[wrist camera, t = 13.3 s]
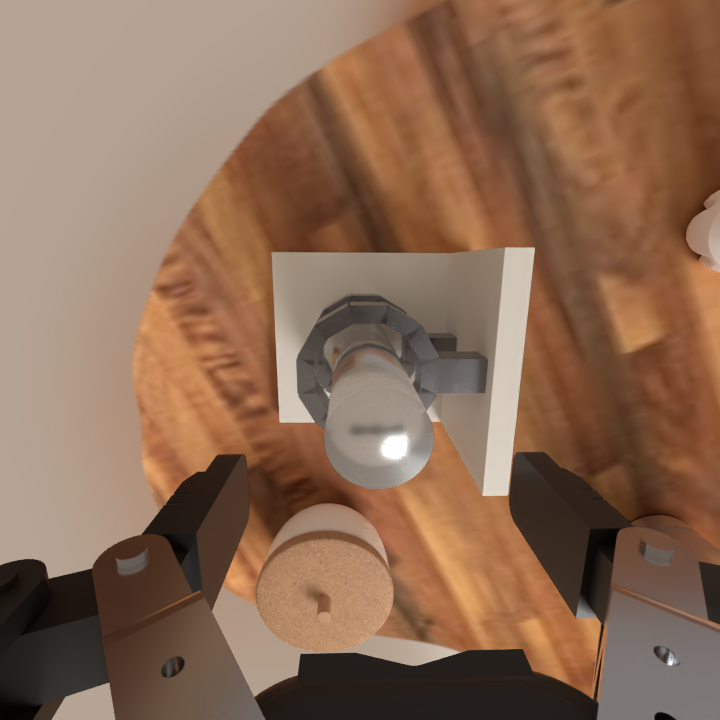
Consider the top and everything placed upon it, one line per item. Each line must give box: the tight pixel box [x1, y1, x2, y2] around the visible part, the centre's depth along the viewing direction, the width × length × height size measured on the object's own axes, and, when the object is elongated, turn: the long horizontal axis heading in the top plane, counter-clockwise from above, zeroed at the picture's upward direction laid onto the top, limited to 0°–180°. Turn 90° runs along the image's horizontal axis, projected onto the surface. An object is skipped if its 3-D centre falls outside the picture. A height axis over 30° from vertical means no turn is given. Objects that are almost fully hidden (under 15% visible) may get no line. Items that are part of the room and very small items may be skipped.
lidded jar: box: [256, 503, 394, 652], centre depth 33 cm, size 11×11×9 cm
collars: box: [296, 294, 488, 429], centre depth 26 cm, size 8×11×8 cm
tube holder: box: [272, 248, 535, 496], centre depth 27 cm, size 14×16×12 cm
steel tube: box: [324, 324, 434, 489], centre depth 23 cm, size 4×4×18 cm
